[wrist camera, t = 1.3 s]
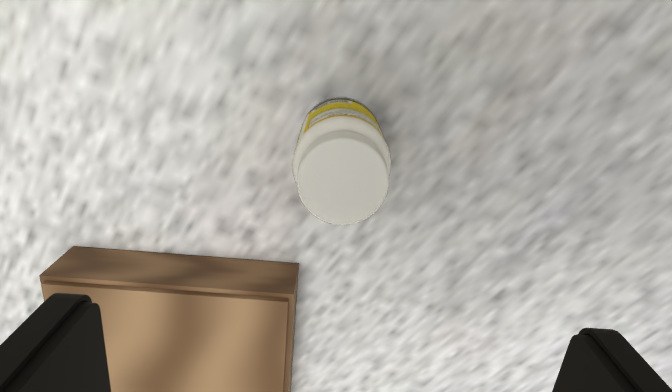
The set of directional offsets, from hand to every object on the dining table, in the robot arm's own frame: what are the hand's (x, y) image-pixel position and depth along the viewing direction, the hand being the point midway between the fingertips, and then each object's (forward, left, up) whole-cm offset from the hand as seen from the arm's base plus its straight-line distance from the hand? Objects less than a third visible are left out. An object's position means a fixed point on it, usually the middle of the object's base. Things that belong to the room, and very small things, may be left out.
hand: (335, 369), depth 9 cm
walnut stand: (+9, +16, -19) cm, 26 cm away
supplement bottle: (0, 0, -19) cm, 19 cm away
